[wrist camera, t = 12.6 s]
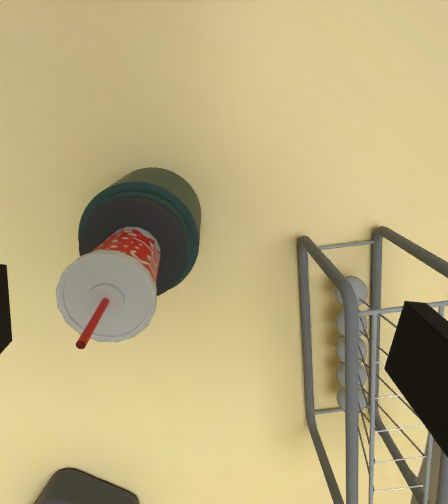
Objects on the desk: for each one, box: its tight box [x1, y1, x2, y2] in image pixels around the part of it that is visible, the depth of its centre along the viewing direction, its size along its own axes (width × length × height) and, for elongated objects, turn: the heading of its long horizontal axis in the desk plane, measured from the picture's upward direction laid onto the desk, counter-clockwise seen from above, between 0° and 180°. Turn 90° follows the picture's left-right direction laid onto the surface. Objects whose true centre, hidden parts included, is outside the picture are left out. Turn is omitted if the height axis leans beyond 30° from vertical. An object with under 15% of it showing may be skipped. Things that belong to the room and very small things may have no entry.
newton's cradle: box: [298, 226, 448, 504], centre depth 43 cm, size 30×10×18 cm, turn 6°
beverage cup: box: [56, 227, 160, 349], centre depth 25 cm, size 6×6×14 cm
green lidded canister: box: [78, 168, 201, 296], centre depth 38 cm, size 11×11×14 cm
